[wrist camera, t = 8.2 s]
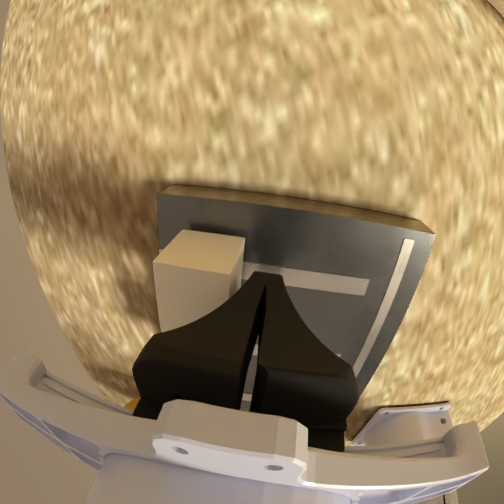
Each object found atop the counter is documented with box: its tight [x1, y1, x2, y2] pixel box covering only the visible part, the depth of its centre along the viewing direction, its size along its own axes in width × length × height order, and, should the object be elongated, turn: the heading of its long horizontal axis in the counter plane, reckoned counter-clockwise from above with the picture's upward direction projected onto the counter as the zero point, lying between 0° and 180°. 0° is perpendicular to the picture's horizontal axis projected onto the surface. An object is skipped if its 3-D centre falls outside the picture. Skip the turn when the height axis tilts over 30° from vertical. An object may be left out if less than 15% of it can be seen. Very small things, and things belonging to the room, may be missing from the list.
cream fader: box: [153, 229, 245, 333], centre depth 12 cm, size 3×4×3 cm
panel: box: [157, 184, 436, 412], centre depth 17 cm, size 14×18×2 cm
